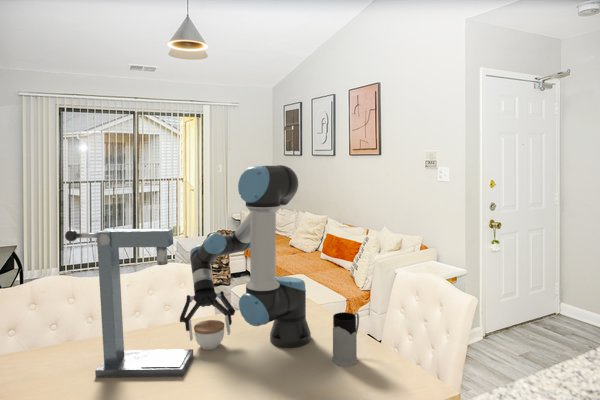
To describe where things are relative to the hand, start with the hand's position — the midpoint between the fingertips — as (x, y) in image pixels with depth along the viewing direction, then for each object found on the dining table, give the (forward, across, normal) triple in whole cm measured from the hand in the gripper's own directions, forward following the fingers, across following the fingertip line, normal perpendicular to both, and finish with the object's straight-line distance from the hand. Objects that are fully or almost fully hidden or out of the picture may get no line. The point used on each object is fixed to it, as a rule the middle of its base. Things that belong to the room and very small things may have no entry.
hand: (210, 336), depth 154 cm
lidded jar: (+2, 0, -5) cm, 5 cm away
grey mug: (+20, -43, +13) cm, 49 cm away
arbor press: (+6, +26, 0) cm, 27 cm away
